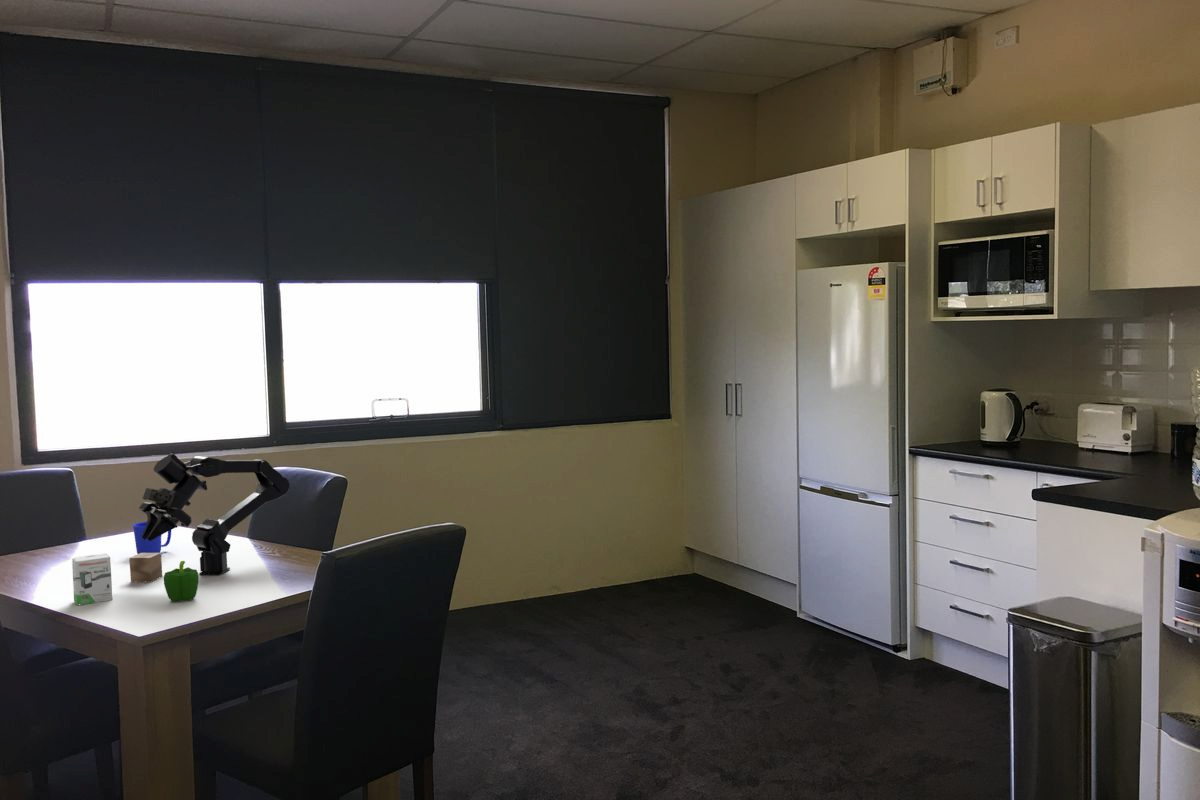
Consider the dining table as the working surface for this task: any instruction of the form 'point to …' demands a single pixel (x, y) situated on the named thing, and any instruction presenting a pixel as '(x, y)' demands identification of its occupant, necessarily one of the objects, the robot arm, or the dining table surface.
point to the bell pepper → (181, 583)
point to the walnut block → (145, 567)
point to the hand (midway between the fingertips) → (145, 539)
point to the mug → (147, 545)
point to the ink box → (92, 578)
